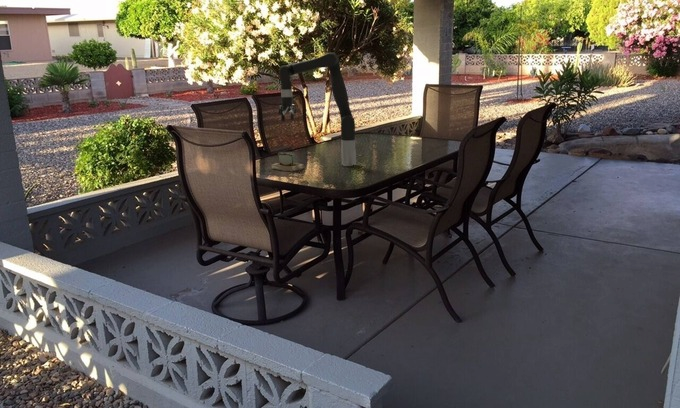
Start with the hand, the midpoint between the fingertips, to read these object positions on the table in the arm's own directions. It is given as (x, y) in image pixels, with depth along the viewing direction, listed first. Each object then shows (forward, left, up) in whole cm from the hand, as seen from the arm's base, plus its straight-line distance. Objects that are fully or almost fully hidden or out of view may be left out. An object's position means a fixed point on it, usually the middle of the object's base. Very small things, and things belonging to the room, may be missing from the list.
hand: (287, 120), depth 398 cm
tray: (+13, +11, -30) cm, 35 cm away
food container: (+12, +11, -30) cm, 34 cm away
